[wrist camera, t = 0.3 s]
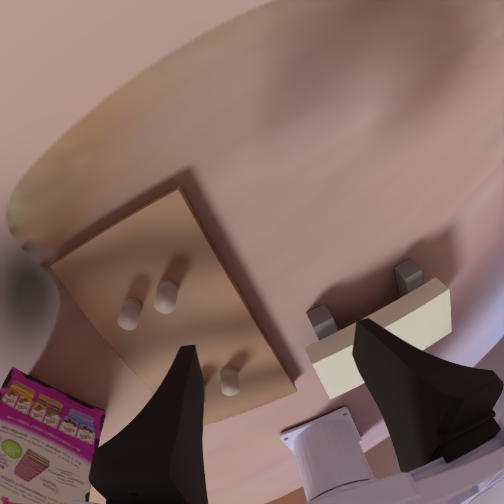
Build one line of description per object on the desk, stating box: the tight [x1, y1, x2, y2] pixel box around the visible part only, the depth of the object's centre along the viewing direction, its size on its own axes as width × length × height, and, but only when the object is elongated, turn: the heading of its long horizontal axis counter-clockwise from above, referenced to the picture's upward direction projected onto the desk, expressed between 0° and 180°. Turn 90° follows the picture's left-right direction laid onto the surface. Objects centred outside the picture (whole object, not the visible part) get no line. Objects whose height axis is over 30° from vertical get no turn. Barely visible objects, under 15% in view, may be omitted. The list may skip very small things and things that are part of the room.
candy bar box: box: [0, 367, 105, 504], centre depth 19 cm, size 11×5×16 cm, turn 59°
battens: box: [306, 259, 424, 340], centre depth 25 cm, size 8×10×2 cm
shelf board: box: [305, 277, 452, 399], centre depth 23 cm, size 12×5×2 cm, turn 115°
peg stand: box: [50, 186, 297, 426], centre depth 23 cm, size 20×11×3 cm, turn 25°
